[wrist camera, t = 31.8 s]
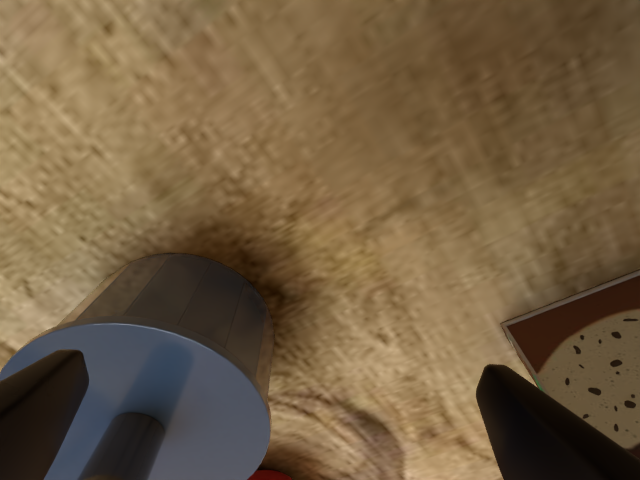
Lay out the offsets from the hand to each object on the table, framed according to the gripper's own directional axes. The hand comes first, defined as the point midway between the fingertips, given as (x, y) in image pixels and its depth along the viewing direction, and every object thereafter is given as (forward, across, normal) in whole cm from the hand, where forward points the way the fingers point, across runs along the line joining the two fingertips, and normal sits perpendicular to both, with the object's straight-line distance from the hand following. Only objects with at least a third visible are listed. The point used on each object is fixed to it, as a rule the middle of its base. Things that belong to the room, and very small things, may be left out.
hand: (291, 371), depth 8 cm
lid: (+5, +6, +9) cm, 12 cm away
